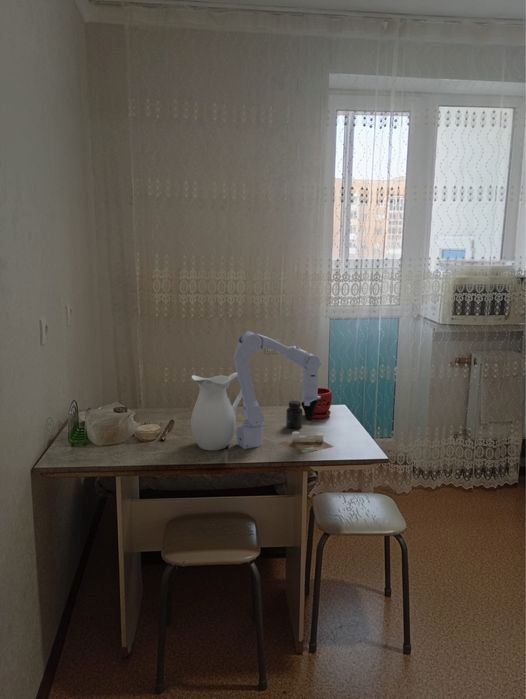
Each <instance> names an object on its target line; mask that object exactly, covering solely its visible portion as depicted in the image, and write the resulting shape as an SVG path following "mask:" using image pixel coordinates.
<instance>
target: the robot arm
mask: <svg viewBox="0 0 526 699" xmlns="http://www.w3.org/2000/svg"><path fill="white" fill-rule="evenodd" d="M260 349H262V350H264V349H271V350H273V351H275V352H278V353H281V354H282V355H284V356H285V358H286V360H287V361H290V362H292V363H294V364H297V365H299V366H302V367H303V368H302V370H303V374H302V395H301V397H302V399H303V401H302V402H300V405H301V407H302V410H303V413H304V415H305V416H304V418H305V420H306V421H308V422H312V420H313V419H314V418H313V416H314V412H315V408H316V404H317V402H318V400H319V399H320V398H321V396H318V388H319V386H318V385H319V369H320V367H321V363H322V362H321V360H320V358H319V357H318V356H316V355H314V354H313V353H311V351H309V350H307V351H306V350H303V349H302V348H300V346H299V345H291V346H287V345H284V344H283V343H281V342H278V341H276V340H274V339H273V338H270V337H268V336H266V335H263V334H259V333H254V332H253V331H251V330H246V331H244V332H243V333H242V334H241V335H240V336H239V338H238V339H237V344H236V347H235V350H234V353H233V362H234V364H235V365H234V367H235V370H236V372H237V375H238V377H237V379H238V383H239V387H240V390H241V392H242V401H243V402H242V406H243V408H242V416H243V418H244V421H243V424H241V426H238V427H237V429H236V445H237V446H239V447H241V448H242V449H243V450H245V449H246V450H247V449H251V448H258V447H261V446H262V445H263V437H264V436H263V432H264V431H263V423H264V421H265V420H264V419H265V416H264V413H262V411H261V409H260V405H259V403H258V400H257V396H256V393H255V388H254V383H253V380H252V379H253V378H252V373H251V369H250V365H249V359H250V358H251V357H252V355H253V354H254V353H256V352H257V351H259V350H260Z"/></svg>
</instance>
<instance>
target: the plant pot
mask: <svg viewBox="0 0 526 699" xmlns="http://www.w3.org/2000/svg"><path fill="white" fill-rule="evenodd" d="M318 396H321V398H320V399H319V400H318V402H317V404H316V408H315V412H314V416H313V418H312V419H324V418H327V417H329V416H330V415H331V410H330V409H331V406H332V401H333V400H332V399H333V392H332V389H331V388H325V387H318Z"/></svg>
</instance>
